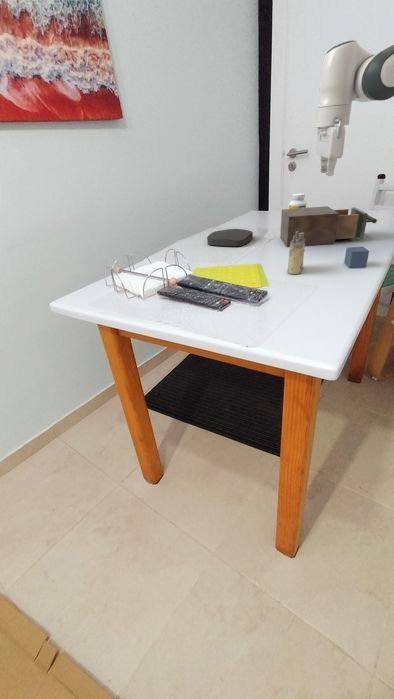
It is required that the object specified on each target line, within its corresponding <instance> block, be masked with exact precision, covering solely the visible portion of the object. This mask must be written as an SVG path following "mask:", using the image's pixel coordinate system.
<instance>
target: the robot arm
mask: <svg viewBox="0 0 394 699" xmlns="http://www.w3.org/2000/svg"><path fill="white" fill-rule="evenodd" d="M318 87H319V101H318V104H317V108H316V109H317V110H316V121H315V128H316V129H317V130H316V155H317V156H319V157H320V161H319V162H320V173H321V174H325V175H326V176H327V177H333V176H334V175H335V174H334V172H335V168H336V165H337V160H338V159H341V158H342V157H343V155H344V149H345V140H346V139H345V138H346V127H345V126H349V125H350V119H351V111H352V104H353V101H354V102H359V103H367V102H375V101H378V102H379V101H381V102H382V101H387V100H389V99H392V98H393V97H394V44H393V45H390V46H388V47H387V48H385V49H383V50H381V51H379V52H378V53H376V54H375V53H372V52H370V51H367V50H366V49H364V48H363V47H362V46H361V45H359V44H358V42H357V40H354V39H353V40H347V41H344V42H341V43H339V44H337V45H334V46H333V47H331V48H330V49H329V50H328V51H327V52H326V53H325V55H324V58H323V62H322V66H321V72H320V79H319V86H318Z"/></svg>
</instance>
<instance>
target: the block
mask: <svg viewBox="0 0 394 699" xmlns="http://www.w3.org/2000/svg"><path fill="white" fill-rule="evenodd" d="M369 255H370V250H368V249H367V248H366V247H365V246H348V247H346V249H345V255H344V261H343V264H345V265H346V266H347V267H348V268H349V269H356V268H357V269H358V268H366V267H367V264H368V261H369Z"/></svg>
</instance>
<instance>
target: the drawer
mask: <svg viewBox="0 0 394 699" xmlns="http://www.w3.org/2000/svg"><path fill="white" fill-rule="evenodd" d="M333 210H334V211H336V212H338V213H339V218H338V225H337V232H336V239H335V240H343V239H344V240H345V239H359V240H364V237H365V232H366V226H367V223H368V224H369V223H371V224H377V222H378V219H377V218H374V217H373V216H371V215H369V213H367V212H365V211H363V210H361V209H359V208H357V207H354V206H353V207H351V208H350V209H348V208H341V209H340V208H339V209H333ZM349 211H350V214H349Z"/></svg>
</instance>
